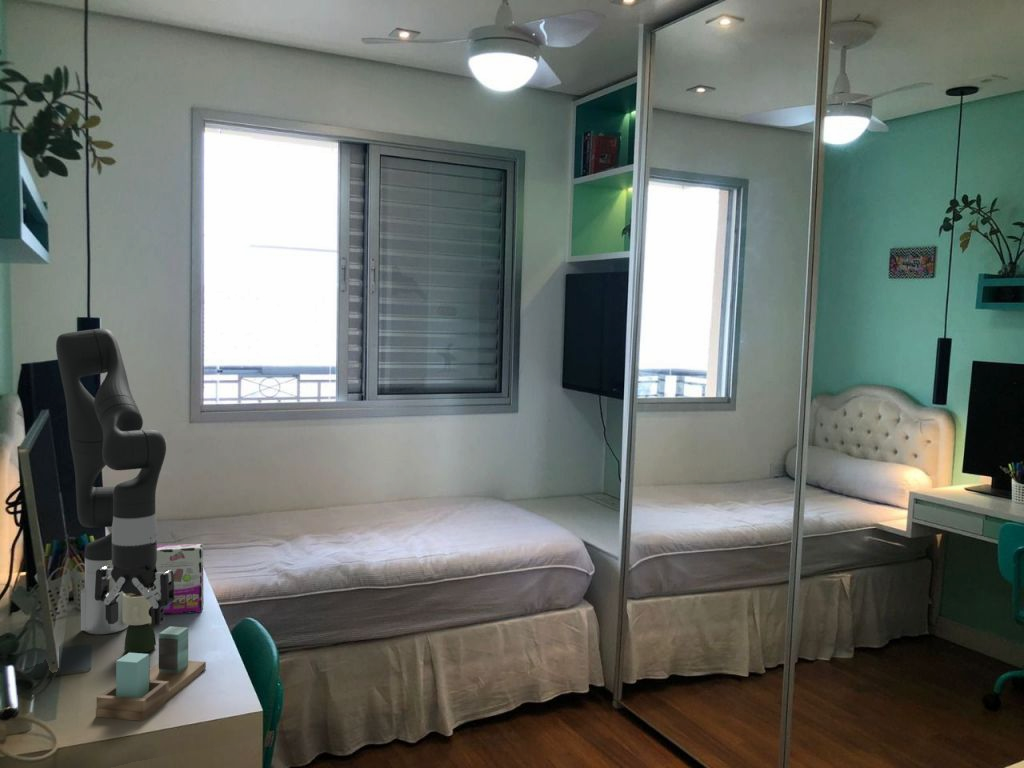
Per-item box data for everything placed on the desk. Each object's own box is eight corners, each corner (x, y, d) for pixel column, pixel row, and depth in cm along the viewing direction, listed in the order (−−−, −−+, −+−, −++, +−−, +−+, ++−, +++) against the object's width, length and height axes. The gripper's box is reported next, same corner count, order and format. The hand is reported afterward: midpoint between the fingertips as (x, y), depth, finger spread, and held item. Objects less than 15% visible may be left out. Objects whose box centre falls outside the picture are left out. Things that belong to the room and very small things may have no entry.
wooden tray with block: (95, 716, 147) (95, 665, 146) (164, 665, 169) (165, 621, 169) (142, 720, 145) (142, 669, 145) (205, 669, 168) (205, 624, 168)
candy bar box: (203, 606, 206) (204, 542, 205) (201, 612, 201) (202, 547, 200) (156, 609, 203) (156, 544, 202) (153, 615, 198) (153, 549, 197)
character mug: (152, 659, 172) (152, 599, 172) (116, 661, 171) (116, 601, 170) (162, 640, 183) (162, 583, 182) (128, 642, 181) (128, 585, 181)
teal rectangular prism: (136, 705, 148) (136, 662, 148) (116, 703, 149) (116, 660, 148) (150, 694, 153) (150, 653, 152) (130, 692, 153) (130, 651, 153)
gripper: (85, 541, 146) (86, 629, 147) (160, 546, 144) (160, 635, 145) (110, 531, 153) (111, 614, 154) (181, 535, 151) (181, 620, 153)
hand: (134, 624), depth 150 cm, fingers open, 8 cm apart
